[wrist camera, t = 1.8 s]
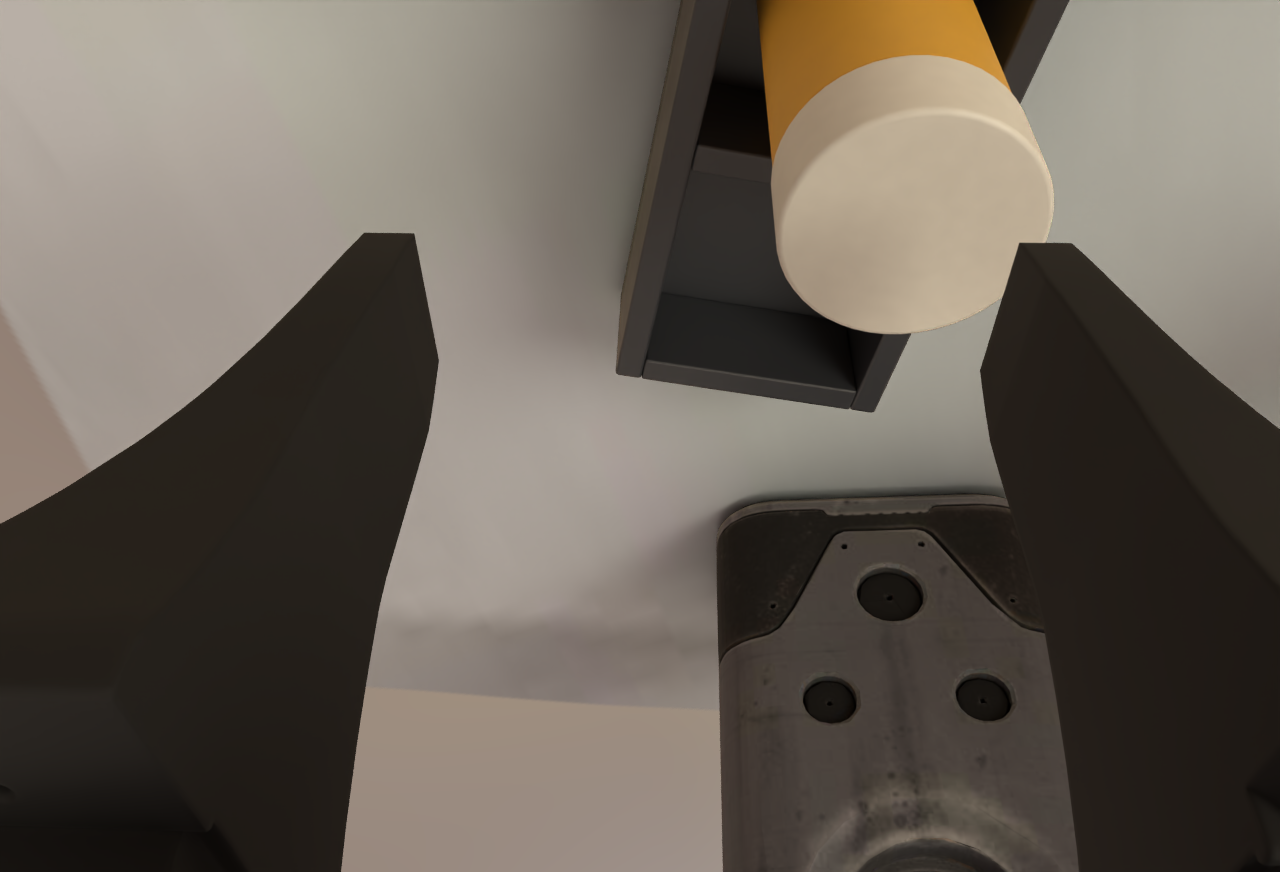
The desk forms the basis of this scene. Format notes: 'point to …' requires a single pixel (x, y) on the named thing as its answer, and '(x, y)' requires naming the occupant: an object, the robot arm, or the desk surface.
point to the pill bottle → (896, 161)
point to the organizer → (751, 225)
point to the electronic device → (886, 691)
